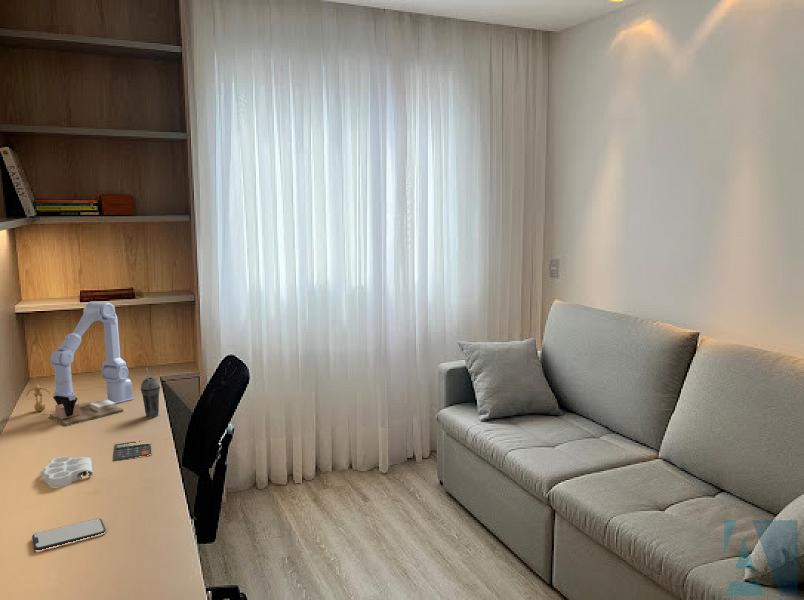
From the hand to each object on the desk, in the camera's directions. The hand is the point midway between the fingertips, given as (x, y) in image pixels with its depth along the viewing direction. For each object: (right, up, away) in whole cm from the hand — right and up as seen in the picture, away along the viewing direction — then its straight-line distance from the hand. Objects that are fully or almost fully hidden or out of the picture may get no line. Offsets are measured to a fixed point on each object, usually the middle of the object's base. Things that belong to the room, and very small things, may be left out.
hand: (66, 414), depth 247 cm
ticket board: (+5, -1, +6) cm, 8 cm away
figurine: (-16, -1, +9) cm, 18 cm away
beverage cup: (+32, -1, +4) cm, 32 cm away
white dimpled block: (+27, -10, -50) cm, 58 cm away
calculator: (+39, -7, -31) cm, 51 cm away
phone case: (+47, -16, -87) cm, 100 cm away
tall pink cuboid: (0, -1, +1) cm, 1 cm away
